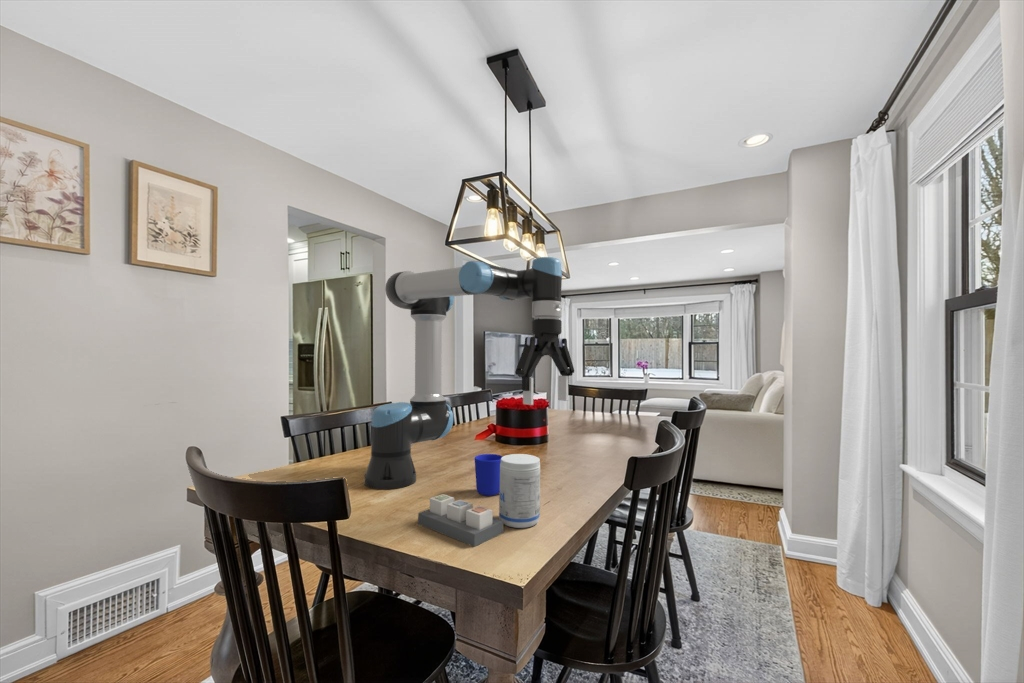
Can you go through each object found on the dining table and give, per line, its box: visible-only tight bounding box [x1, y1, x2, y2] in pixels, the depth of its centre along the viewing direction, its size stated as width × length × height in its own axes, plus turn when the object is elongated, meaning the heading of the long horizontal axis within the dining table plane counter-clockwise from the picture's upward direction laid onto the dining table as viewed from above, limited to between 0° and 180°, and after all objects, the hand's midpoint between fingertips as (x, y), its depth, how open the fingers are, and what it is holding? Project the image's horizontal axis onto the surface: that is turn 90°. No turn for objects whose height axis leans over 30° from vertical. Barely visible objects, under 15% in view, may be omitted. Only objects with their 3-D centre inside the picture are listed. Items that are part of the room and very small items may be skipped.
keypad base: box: [417, 508, 504, 547], centre depth 97 cm, size 18×9×2 cm, turn 51°
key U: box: [447, 499, 474, 523], centre depth 97 cm, size 4×4×3 cm
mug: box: [474, 453, 504, 497], centre depth 121 cm, size 8×12×10 cm
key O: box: [466, 505, 493, 530], centre depth 93 cm, size 4×4×3 cm
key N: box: [429, 494, 455, 516], centre depth 100 cm, size 4×4×3 cm
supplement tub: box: [498, 453, 541, 529], centre depth 101 cm, size 10×10×15 cm
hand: (546, 402), depth 109 cm, fingers open, 13 cm apart
